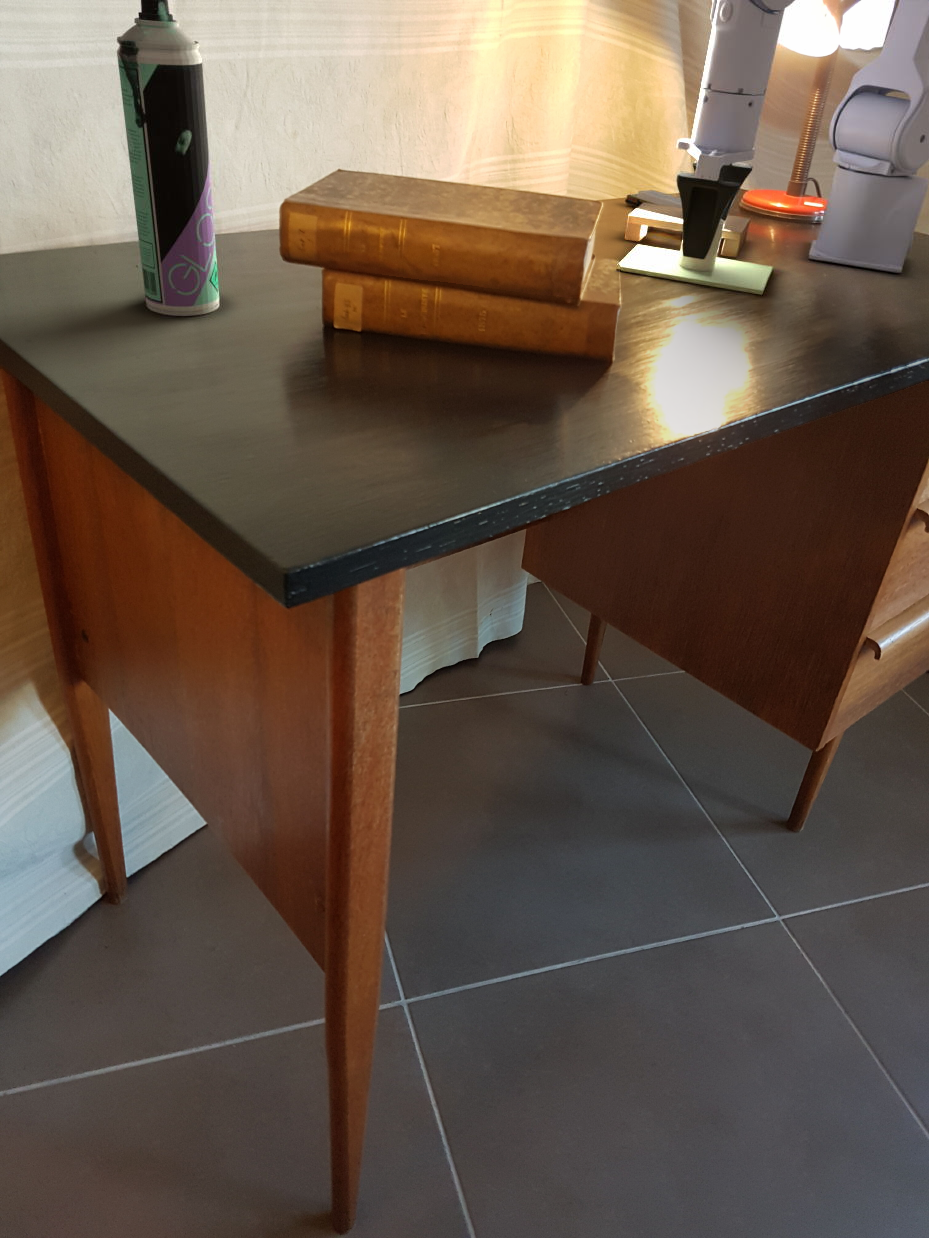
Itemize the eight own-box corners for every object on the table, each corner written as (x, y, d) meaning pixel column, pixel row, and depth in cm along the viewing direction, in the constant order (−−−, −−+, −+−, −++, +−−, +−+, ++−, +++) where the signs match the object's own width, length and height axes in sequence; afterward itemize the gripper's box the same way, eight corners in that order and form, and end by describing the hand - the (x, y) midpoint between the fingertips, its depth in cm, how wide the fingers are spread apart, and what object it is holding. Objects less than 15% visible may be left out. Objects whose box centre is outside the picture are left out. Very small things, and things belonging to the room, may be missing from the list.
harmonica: (624, 205, 117) (626, 188, 116) (641, 204, 119) (644, 186, 118) (712, 234, 108) (716, 215, 107) (730, 231, 110) (734, 213, 109)
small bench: (745, 242, 106) (750, 218, 104) (736, 257, 100) (741, 232, 98) (639, 225, 109) (643, 202, 107) (624, 239, 103) (628, 215, 101)
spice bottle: (716, 265, 95) (732, 192, 91) (711, 273, 92) (727, 198, 88) (680, 259, 96) (695, 186, 92) (674, 267, 93) (689, 192, 89)
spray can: (201, 320, 71) (175, 1, 60) (133, 310, 72) (93, -7, 60) (230, 299, 75) (211, 0, 64) (166, 290, 76) (135, -8, 65)
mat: (772, 270, 96) (773, 266, 96) (761, 295, 88) (763, 290, 88) (636, 248, 100) (637, 244, 100) (615, 269, 92) (616, 265, 92)
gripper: (701, 80, 92) (672, 228, 100) (674, 92, 80) (645, 258, 88) (775, 89, 90) (740, 238, 98) (758, 102, 79) (721, 270, 87)
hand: (700, 248), depth 93 cm, fingers open, 7 cm apart
